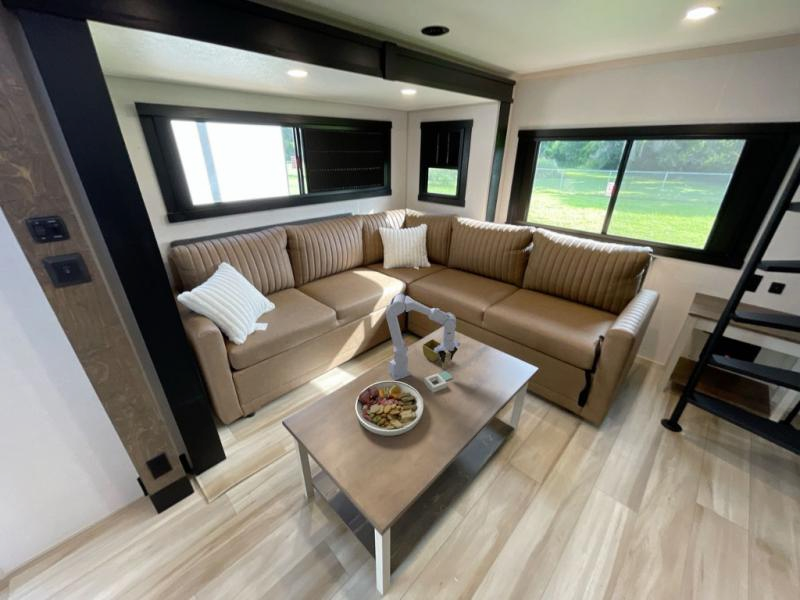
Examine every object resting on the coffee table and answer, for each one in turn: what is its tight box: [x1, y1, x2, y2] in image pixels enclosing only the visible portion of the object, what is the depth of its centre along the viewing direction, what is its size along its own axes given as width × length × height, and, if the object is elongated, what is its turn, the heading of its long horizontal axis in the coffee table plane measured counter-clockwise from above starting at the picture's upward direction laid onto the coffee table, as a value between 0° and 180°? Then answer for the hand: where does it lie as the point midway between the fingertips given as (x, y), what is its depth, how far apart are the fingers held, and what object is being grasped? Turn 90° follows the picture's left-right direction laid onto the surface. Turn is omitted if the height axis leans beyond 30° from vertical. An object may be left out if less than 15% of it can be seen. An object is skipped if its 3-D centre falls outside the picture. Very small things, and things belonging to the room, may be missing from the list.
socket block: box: [423, 372, 448, 393], centre depth 153 cm, size 8×8×3 cm
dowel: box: [441, 350, 452, 370], centre depth 154 cm, size 4×4×8 cm
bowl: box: [354, 380, 424, 437], centre depth 137 cm, size 30×30×8 cm
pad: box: [438, 370, 454, 382], centre depth 159 cm, size 6×6×1 cm
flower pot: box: [422, 338, 442, 362], centre depth 171 cm, size 9×9×9 cm
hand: (446, 360), depth 155 cm, fingers closed on dowel, 4 cm apart
